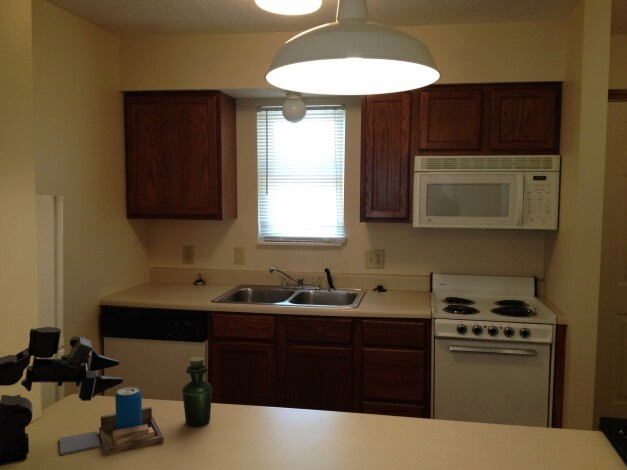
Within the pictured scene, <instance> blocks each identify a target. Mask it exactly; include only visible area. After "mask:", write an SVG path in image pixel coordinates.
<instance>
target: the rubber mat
mask: <svg viewBox="0 0 627 470" xmlns="http://www.w3.org/2000/svg"><path fill="white" fill-rule="evenodd" d="M58 441H59V451H60V456H64V455H68V454H74V453H78V452H79V453H80V452H83V451H87V450H93V449H98V448H101V446H102V445H101V442H100V441H101V440H100V437H99V433H98V431H97V430H93V431H90V432H84V433H79V434H74V435H70V436H69V435H68V436H63V437H59V438H58Z"/></svg>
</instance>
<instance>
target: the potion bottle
mask: <svg viewBox="0 0 627 470" xmlns="http://www.w3.org/2000/svg"><path fill="white" fill-rule="evenodd" d="M204 360H205V358H204V357H202V356H193V357H191V358H189V362H190V365H189V366H187V368H186V369H185V370H186V374H188V375H189V376H190V378H191V381H190V382H188V383H186V384H184V387H183V388H182V390H181V392H182V393H181V394H182V400H183V401H182V402H183V411H184V417H185V423H186V425H187V426H189V427H192V428H200V427H204V426H206V425H207V424H209V423H210V421H211V412H212V411H211V408H212V398H213V397H212V396H213V387H212V385H211V383H210V382H207V381H205V380H203V378H204V376H205V375H204V374H205V373H207V372H208V370H209V369H208V367H207V365H206V364H204Z"/></svg>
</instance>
